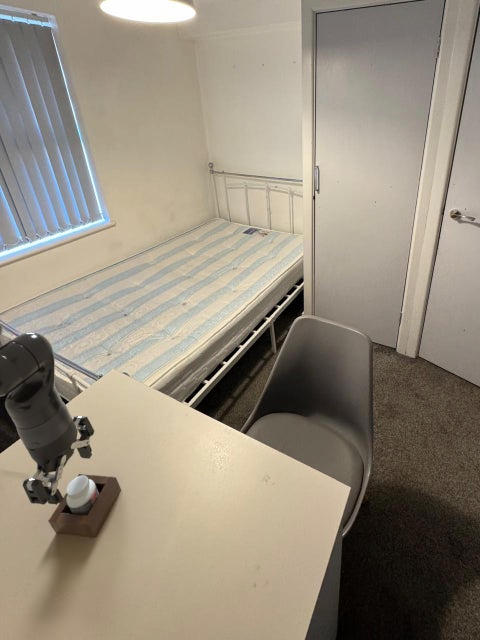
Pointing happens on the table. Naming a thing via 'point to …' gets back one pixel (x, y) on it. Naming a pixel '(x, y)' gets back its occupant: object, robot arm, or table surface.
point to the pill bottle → (81, 495)
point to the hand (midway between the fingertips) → (73, 477)
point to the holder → (91, 523)
